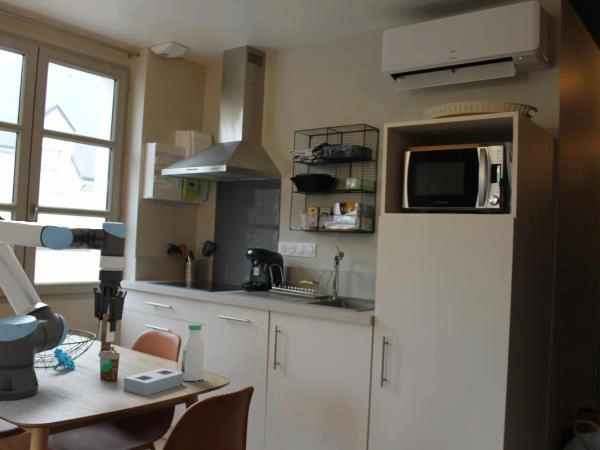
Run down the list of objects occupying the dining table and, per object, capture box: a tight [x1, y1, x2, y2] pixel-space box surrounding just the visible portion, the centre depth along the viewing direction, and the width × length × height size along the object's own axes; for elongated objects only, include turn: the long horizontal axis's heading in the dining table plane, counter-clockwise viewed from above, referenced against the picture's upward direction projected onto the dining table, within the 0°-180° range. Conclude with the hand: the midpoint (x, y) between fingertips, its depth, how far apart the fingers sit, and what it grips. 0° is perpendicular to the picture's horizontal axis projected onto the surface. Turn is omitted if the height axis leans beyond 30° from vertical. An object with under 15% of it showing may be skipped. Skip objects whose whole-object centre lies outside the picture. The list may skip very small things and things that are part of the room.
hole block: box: [122, 367, 184, 396], centre depth 189 cm, size 18×10×4 cm, turn 151°
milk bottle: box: [180, 323, 205, 382], centre depth 202 cm, size 8×8×20 cm
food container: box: [97, 346, 120, 382], centre depth 196 cm, size 12×6×10 cm, turn 27°
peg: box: [100, 312, 112, 351], centre depth 182 cm, size 3×3×12 cm
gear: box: [53, 347, 76, 371], centre depth 205 cm, size 11×6×10 cm
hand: (106, 340), depth 181 cm, fingers closed on peg, 3 cm apart
